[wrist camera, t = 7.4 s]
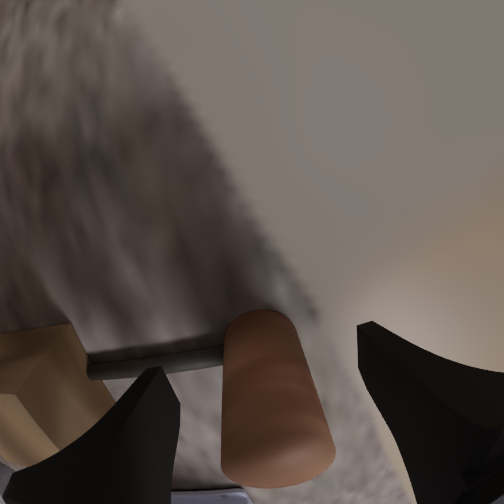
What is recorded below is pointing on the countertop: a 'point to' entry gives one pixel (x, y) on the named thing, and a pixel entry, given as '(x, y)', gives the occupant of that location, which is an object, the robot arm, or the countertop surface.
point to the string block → (229, 355)
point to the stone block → (4, 479)
